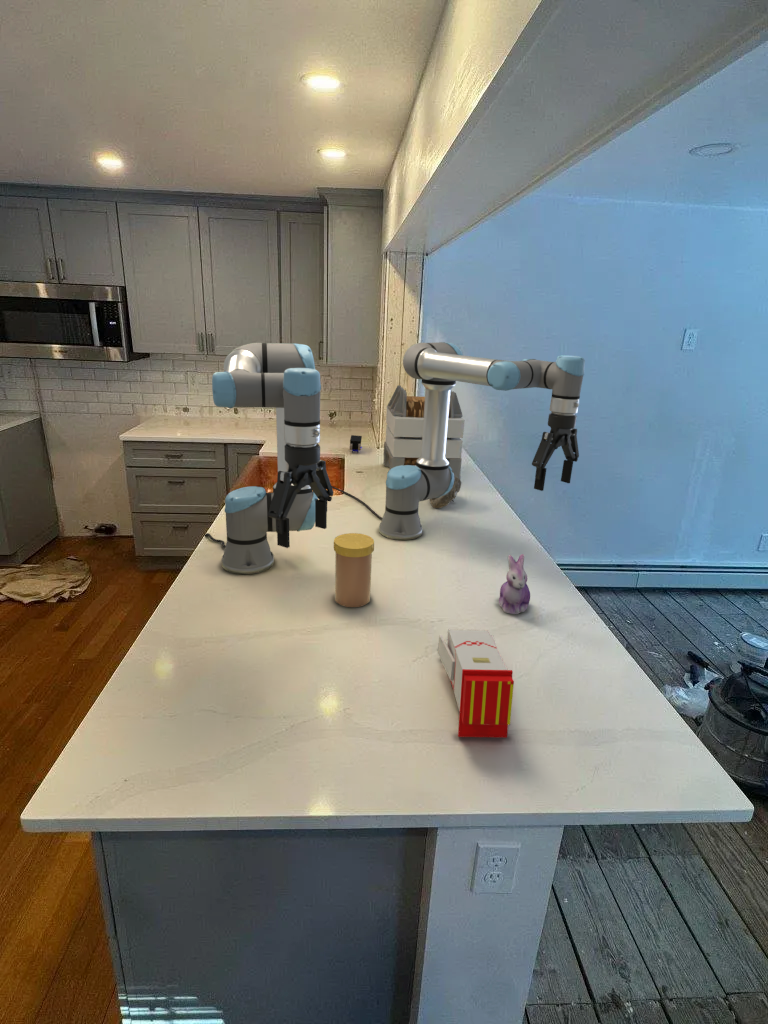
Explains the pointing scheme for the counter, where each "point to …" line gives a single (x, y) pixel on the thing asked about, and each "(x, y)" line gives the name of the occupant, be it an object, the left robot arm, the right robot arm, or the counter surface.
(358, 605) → the jar
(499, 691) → the toy
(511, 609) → the figurine
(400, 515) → the right robot arm
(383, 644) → the counter surface
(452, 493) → the fossil
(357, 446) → the figurine character
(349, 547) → the lid
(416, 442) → the white wooden crate
